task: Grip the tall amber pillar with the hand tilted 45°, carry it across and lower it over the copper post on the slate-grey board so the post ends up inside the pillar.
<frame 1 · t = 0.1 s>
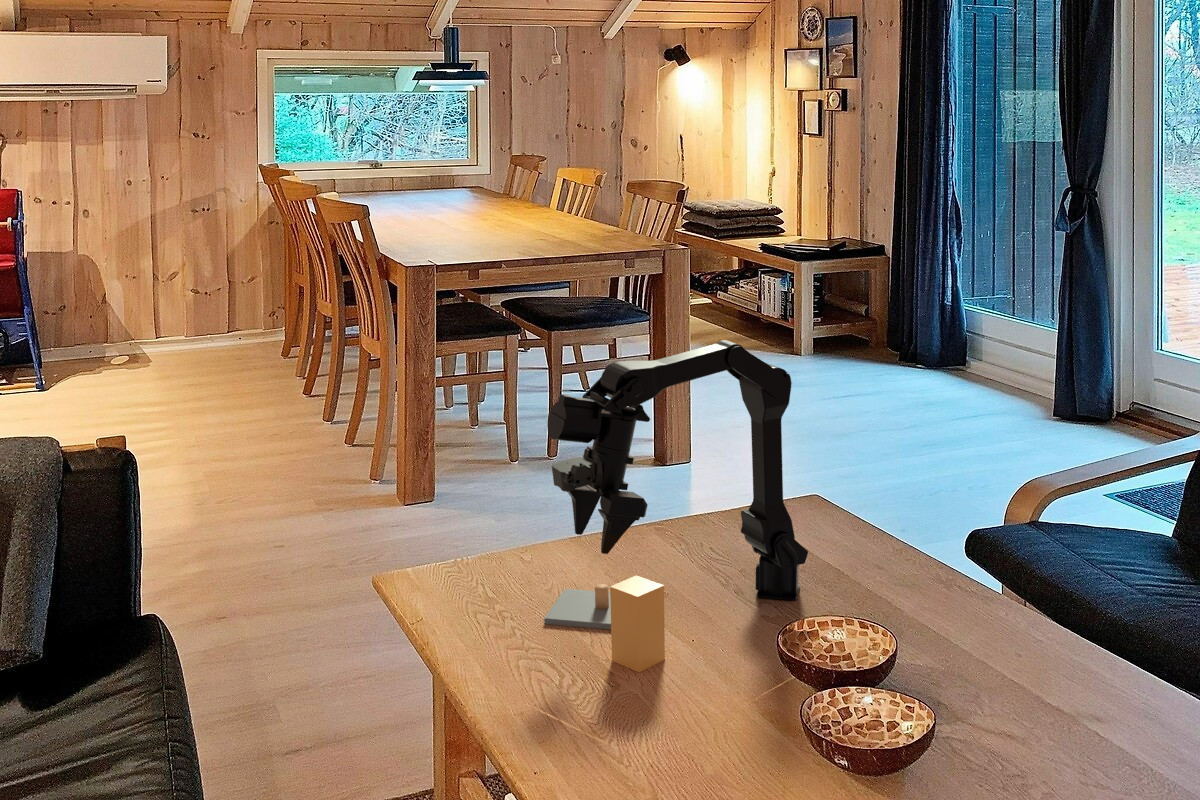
hand: (591, 543, 198), 15 cm above the table, fingers open, 9 cm apart
post board: (602, 612, 210), on the table
tall amber pillar: (638, 660, 193), on the table
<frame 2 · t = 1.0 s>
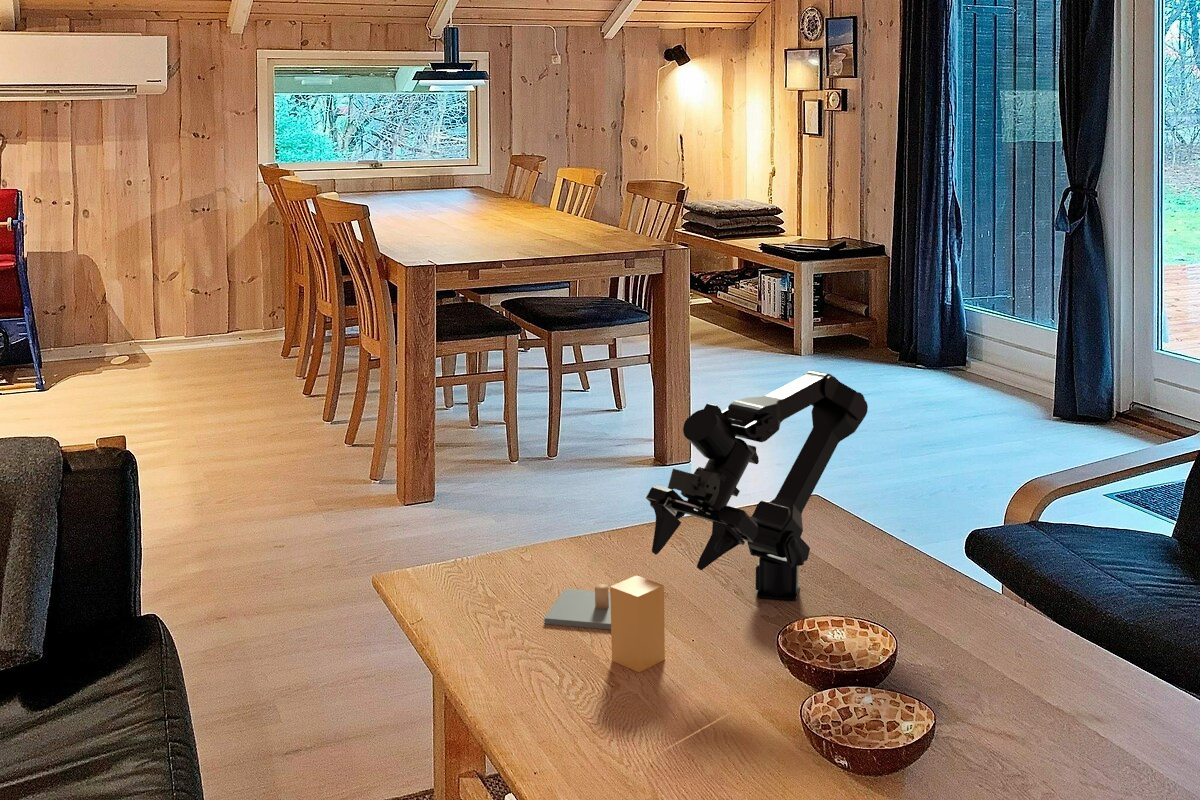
hand: (676, 561, 196), 13 cm above the table, fingers open, 9 cm apart
nothing on the table moved.
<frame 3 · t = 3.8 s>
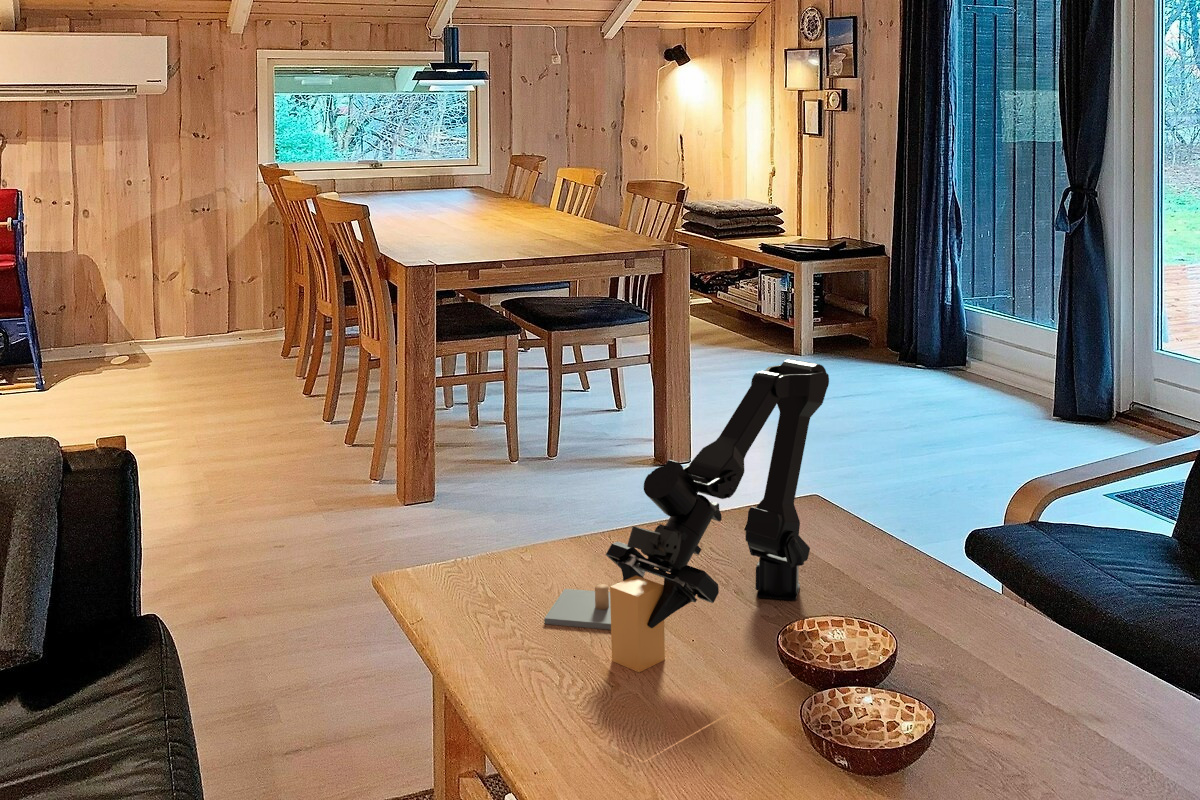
hand: (634, 621, 191), 7 cm above the table, fingers closed on tall amber pillar, 6 cm apart
tall amber pillar: (638, 660, 193), on the table, touching gripper
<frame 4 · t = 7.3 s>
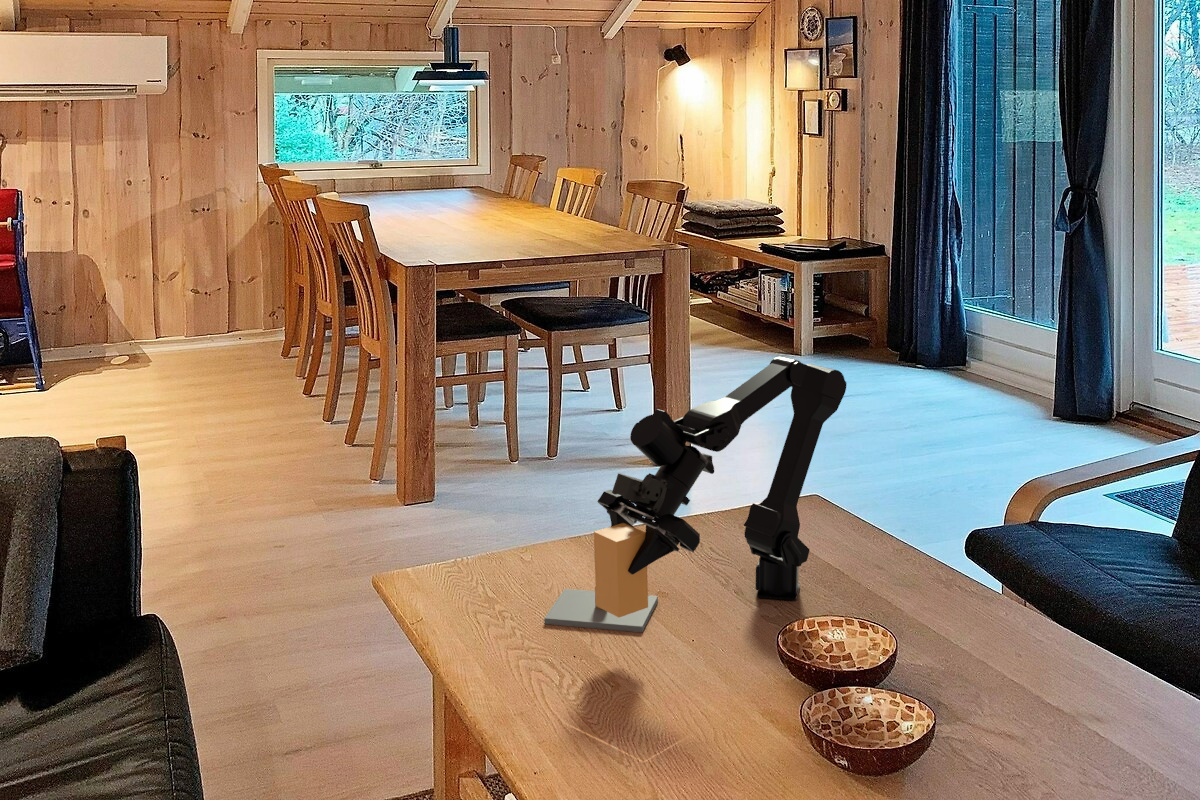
hand: (617, 567, 194), 13 cm above the table, fingers closed on tall amber pillar, 6 cm apart
tall amber pillar: (622, 606, 196), point 7 cm above the table, touching gripper
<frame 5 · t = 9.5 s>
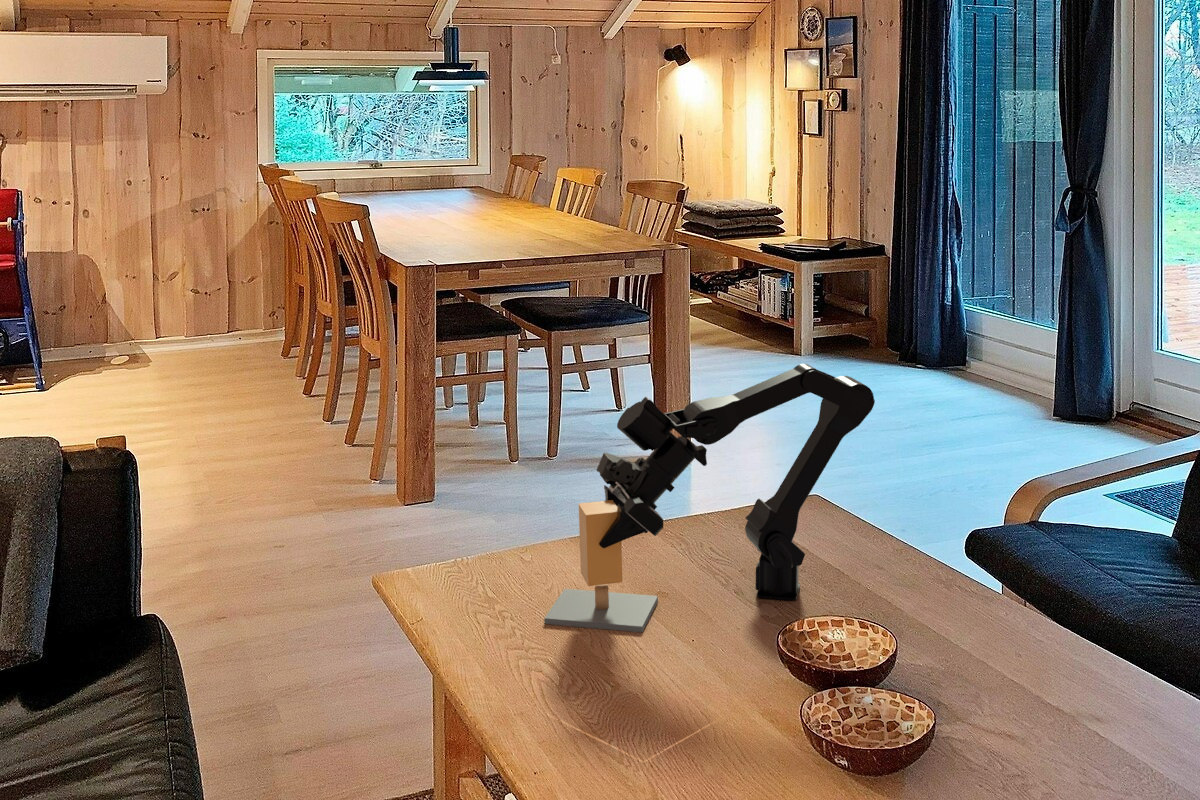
hand: (596, 539, 207), 13 cm above the table, fingers closed on tall amber pillar, 6 cm apart
tall amber pillar: (601, 577, 209), point 6 cm above the table, touching gripper
when the fingers open (9 cm above the table, at t = 11.1 s): tall amber pillar stays where it is, resting on post board.
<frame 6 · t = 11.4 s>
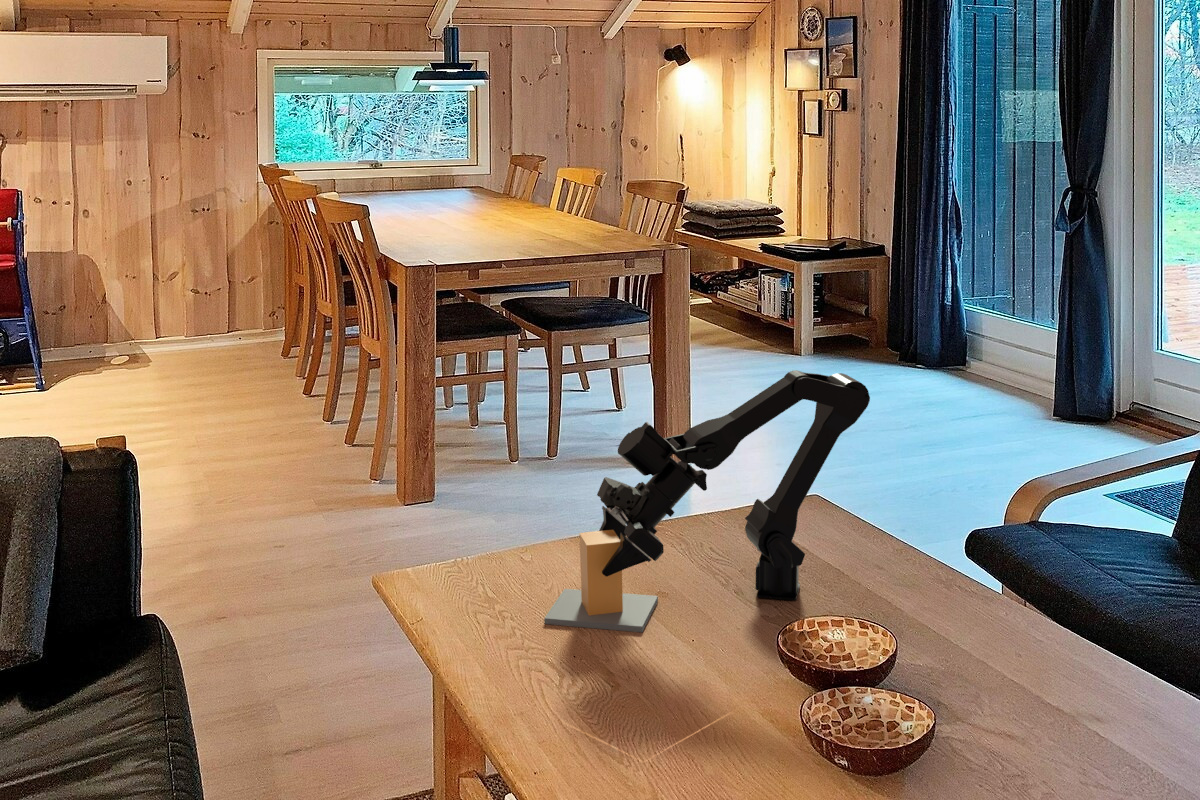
hand: (597, 563, 208), 9 cm above the table, fingers open, 9 cm apart
tall amber pillar: (601, 606, 210), point 1 cm above the table, touching post board
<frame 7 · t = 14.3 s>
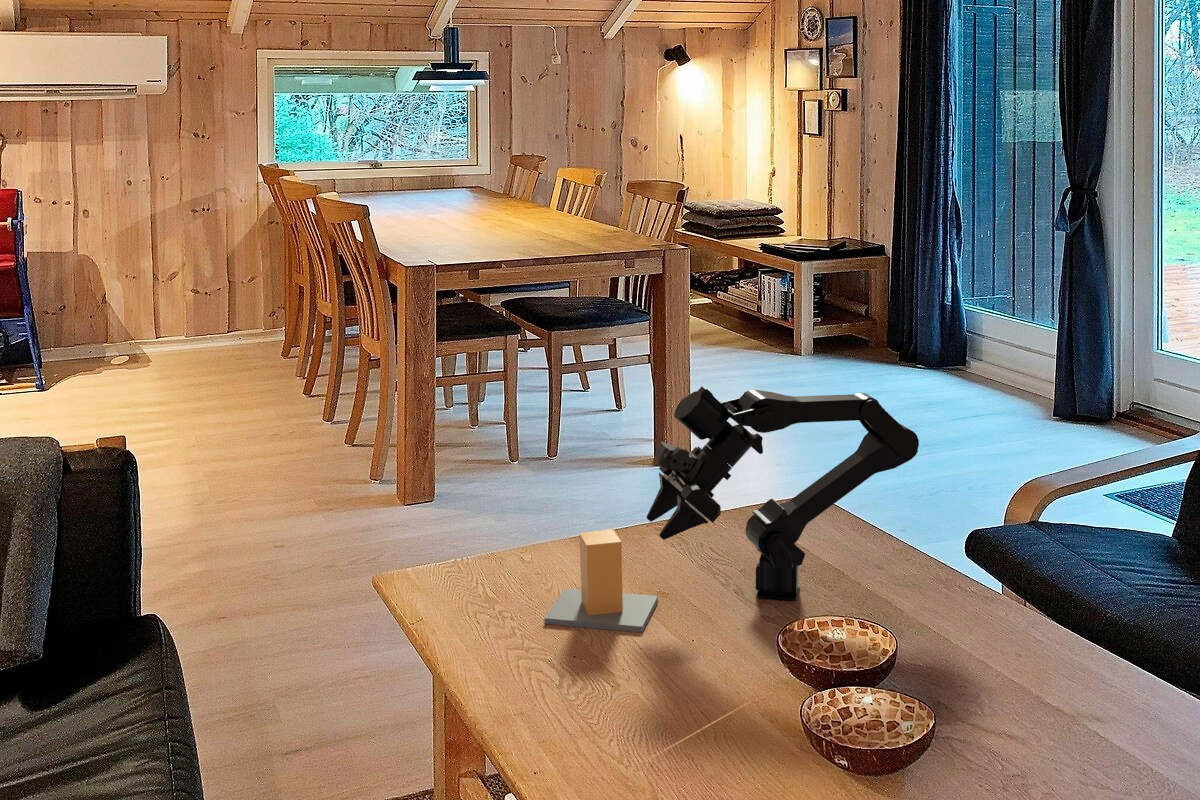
hand: (654, 528, 209), 14 cm above the table, fingers open, 9 cm apart
nothing on the table moved.
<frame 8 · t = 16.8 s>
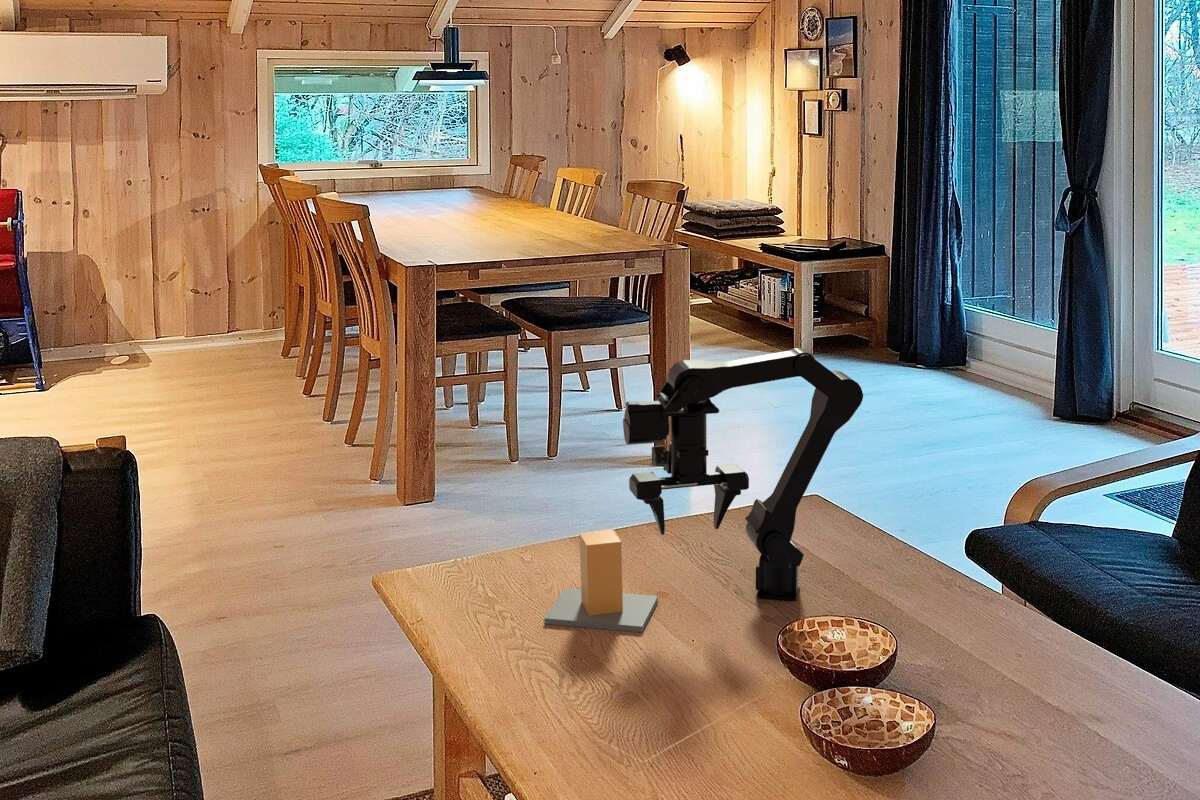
hand: (689, 531, 211), 12 cm above the table, fingers open, 9 cm apart
nothing on the table moved.
at the end: tall amber pillar 0.1 cm off-centre on the post board, point 1.0 cm above the post board's base; tall amber pillar tilted 0°; the gripper is holding nothing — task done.
